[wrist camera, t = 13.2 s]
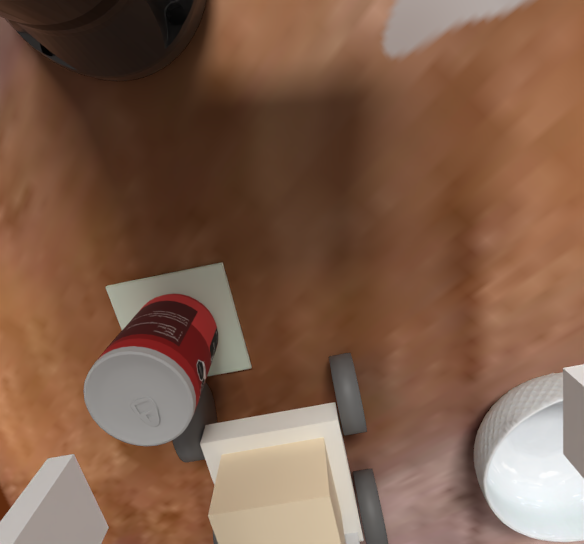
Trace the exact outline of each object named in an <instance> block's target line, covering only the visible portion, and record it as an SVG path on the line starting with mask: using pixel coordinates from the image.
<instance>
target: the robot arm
mask: <svg viewBox="0 0 584 544" xmlns="http://www.w3.org/2000/svg"><path fill="white" fill-rule="evenodd" d="M205 4H206V0H0V16H1V17H3V18H5V20H6V21H7V22H8V23H9V24H10V25H11V26H12V27H13V28H14V29H15V30H16V31H17V32H18V33H19V34H20V35H21V37H23V38H24V39H25V40H26V41H27V42H28V43H29V44H30V45H31V46H32V47H33V48H35V49H36V50H37V51H38V52H40V53H41V54H42V55H44V56H45V57H47V58H48V59H50V60H51V61H53V62H55V63H56V64H58V65H60V66H62V67H64V68H66V69H68V70H71V71H74V72H76V73H79V74H83V75H86V76H90V77H94V78H98V79H102V80H110V81H126V80H134V79H138V78H142V77H145V76H148V75H151V74H153V73H155V72H157V71H159V70H161V69H162V68H164V67H165V66H167V65H168V64H170V63H171V62H172V61H173V60H174V59H175V58H176V57H177V56H178V55H179V54H180V53H181V52H182V51H183V50H184V49H185V48H186V46H187V45H188V43H189V42H190V40H191V39H192V37H193V36H194V34H195V32H196V30H197V28H198V25H199V23H200V21H201V18H202V15H203V12H204V8H205ZM563 454H564V456H565V457H566V458H567V459H568V460H569V462H570V463H571V464H572V465H573V466H574V468H575V469H576V470H577V471H578V472H579V474H580V475H581V476H582V477H583V478H584V364H583V365H577V366H572V367H566V368H563ZM108 528H109V527H108V525H107V523H106V521H105V519H104V517H103V514H102V512H101V510H100V508H99V506H98V504H97V502H96V500H95V498H94V495H93V493H92V491H91V489H90V487H89V485H88V483H87V481H86V479H85V477H84V474H83V472H82V470H81V468H80V466H79V464H78V462H77V460H76V458H75V455H74V454H71V455H65V456H60V457H54V458H48V459H47V460H46V462H45V463H44V464H43V466H42V467H41V468H40V470H39V471H38V472H37V474H36V475H35V476H34V478H33V479H32V480H31V482H30V483H29V484H28V486H27V487H26V488H25V490H24V491H23V492H22V494H21V495H20V496H19V498H18V499H17V500H16V502H15V503H14V504H13V506H12V507H11V508H10V510H9V511H8V512H7V514H6V515H5V516H4V518H3V519H2V520H1V522H0V544H101V543H102V541H103V539H104V536H105V534H106V532H107V530H108Z"/></svg>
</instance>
